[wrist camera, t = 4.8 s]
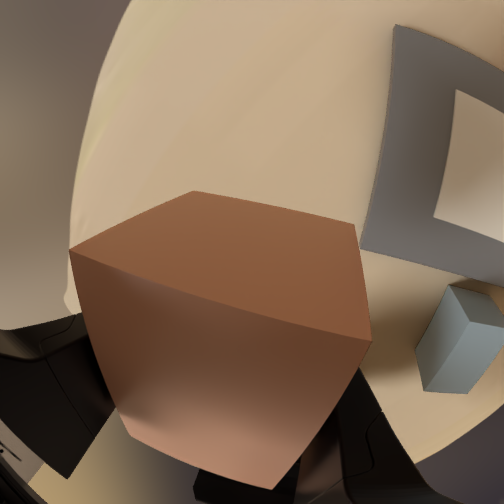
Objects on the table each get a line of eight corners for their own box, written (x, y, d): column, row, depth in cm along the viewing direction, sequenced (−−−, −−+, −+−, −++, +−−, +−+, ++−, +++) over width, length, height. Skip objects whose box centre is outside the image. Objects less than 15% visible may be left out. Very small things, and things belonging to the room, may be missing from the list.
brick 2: (454, 356, 20) (467, 393, 15) (414, 350, 21) (423, 391, 16) (489, 295, 17) (512, 329, 12) (448, 284, 18) (469, 321, 13)
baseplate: (513, 286, 15) (519, 293, 14) (359, 243, 19) (360, 250, 18) (552, 113, 8) (560, 114, 7) (393, 29, 12) (396, 23, 11)
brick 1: (300, 383, 10) (271, 489, 6) (189, 350, 12) (129, 435, 7) (354, 224, 8) (372, 341, 3) (193, 190, 9) (68, 249, 4)
